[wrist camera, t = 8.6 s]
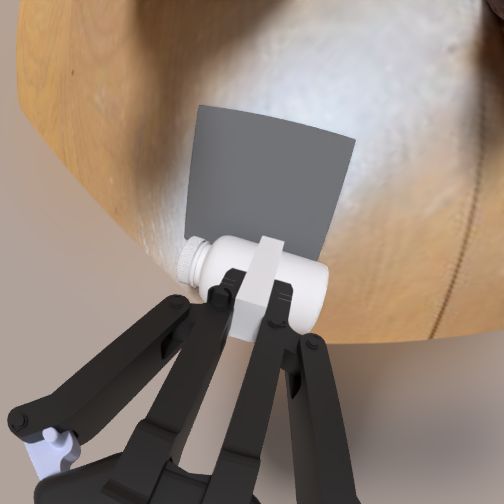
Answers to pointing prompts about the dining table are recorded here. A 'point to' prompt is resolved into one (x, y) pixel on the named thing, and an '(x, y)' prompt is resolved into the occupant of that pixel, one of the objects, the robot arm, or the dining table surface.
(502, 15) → the candle
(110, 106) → the dining table surface
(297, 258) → the pill bottle
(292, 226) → the mat
